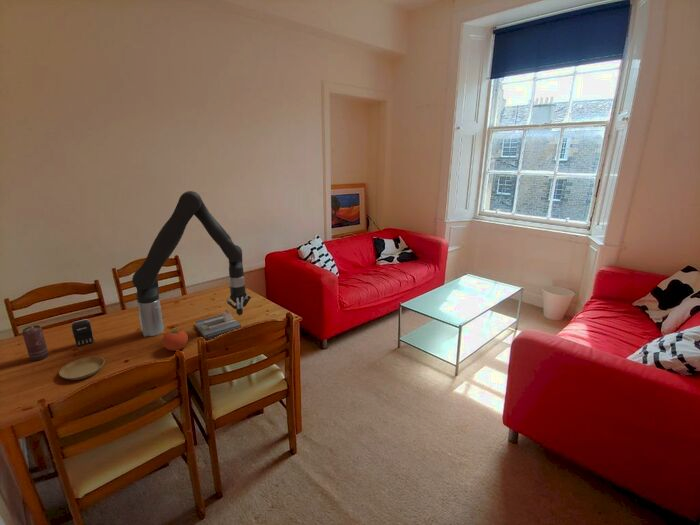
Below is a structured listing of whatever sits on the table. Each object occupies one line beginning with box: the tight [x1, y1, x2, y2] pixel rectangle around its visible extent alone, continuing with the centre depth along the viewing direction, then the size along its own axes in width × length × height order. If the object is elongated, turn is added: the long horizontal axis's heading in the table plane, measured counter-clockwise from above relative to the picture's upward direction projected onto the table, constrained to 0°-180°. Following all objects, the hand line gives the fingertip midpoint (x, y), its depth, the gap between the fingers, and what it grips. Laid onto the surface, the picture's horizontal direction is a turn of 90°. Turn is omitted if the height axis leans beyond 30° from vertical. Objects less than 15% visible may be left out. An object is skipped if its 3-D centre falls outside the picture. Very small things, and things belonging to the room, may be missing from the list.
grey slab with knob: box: [195, 313, 242, 341], centre depth 178 cm, size 16×19×2 cm
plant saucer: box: [58, 355, 105, 381], centre depth 141 cm, size 15×15×3 cm
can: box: [21, 325, 49, 362], centre depth 147 cm, size 6×6×14 cm
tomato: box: [162, 328, 189, 352], centre depth 157 cm, size 10×10×10 cm
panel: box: [194, 316, 242, 339], centre depth 178 cm, size 18×15×3 cm
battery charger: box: [71, 318, 95, 347], centre depth 159 cm, size 7×4×11 cm, turn 130°
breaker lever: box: [222, 309, 233, 322], centre depth 180 cm, size 3×4×5 cm
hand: (239, 314), depth 185 cm, fingers closed
